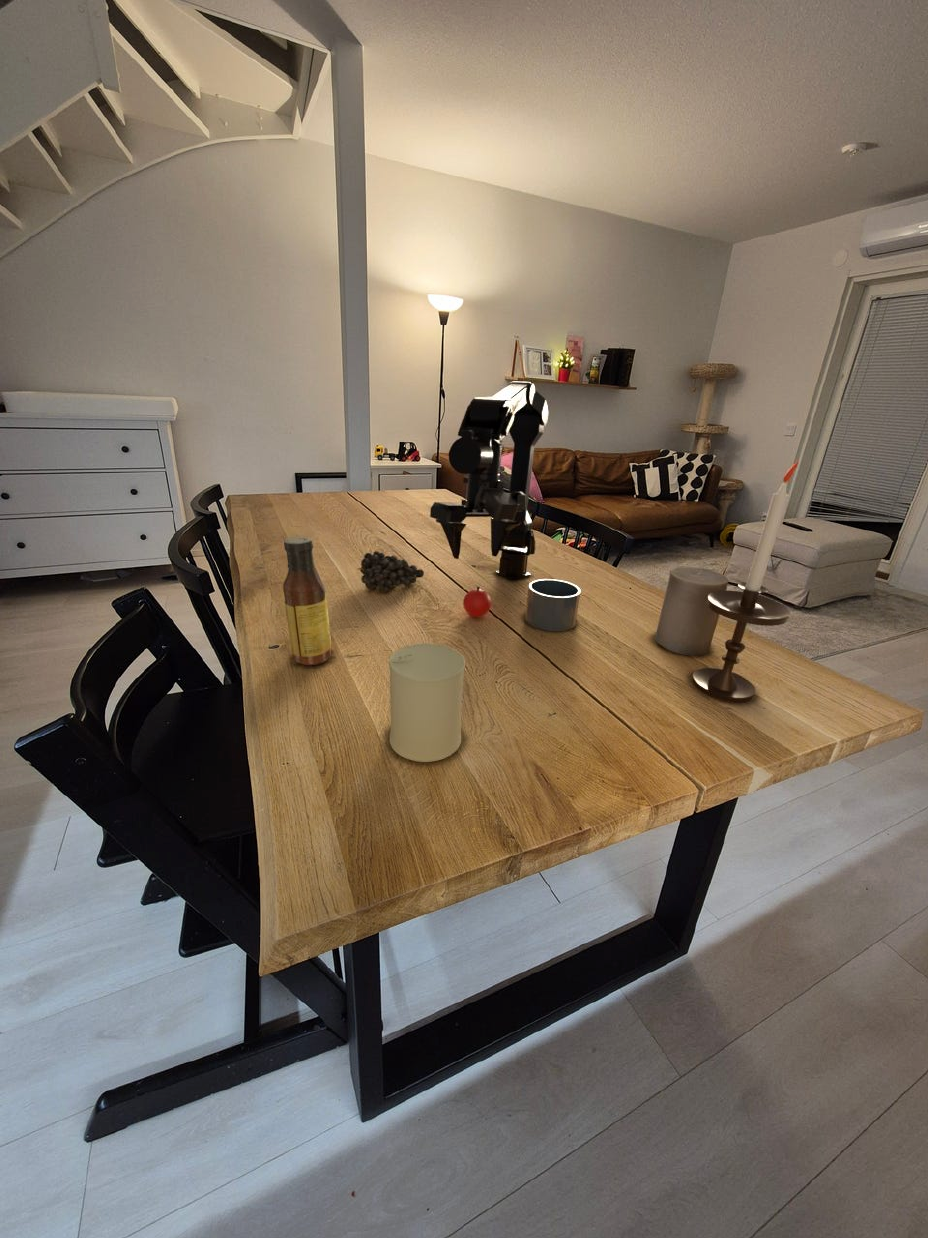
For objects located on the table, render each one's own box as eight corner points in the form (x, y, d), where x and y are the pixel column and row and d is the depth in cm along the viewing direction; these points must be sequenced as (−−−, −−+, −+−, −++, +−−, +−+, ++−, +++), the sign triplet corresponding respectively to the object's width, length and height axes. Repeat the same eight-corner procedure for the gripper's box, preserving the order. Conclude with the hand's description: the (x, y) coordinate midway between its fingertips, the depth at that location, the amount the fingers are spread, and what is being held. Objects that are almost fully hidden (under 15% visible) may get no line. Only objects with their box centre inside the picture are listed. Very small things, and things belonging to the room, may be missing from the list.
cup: (548, 607, 107) (552, 576, 104) (585, 623, 100) (591, 590, 97) (515, 617, 101) (518, 585, 98) (552, 635, 94) (557, 601, 91)
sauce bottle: (339, 653, 84) (332, 537, 76) (317, 670, 79) (307, 548, 70) (306, 645, 86) (295, 532, 78) (282, 662, 80) (268, 541, 72)
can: (391, 717, 68) (390, 639, 63) (458, 717, 69) (462, 639, 64) (387, 763, 60) (385, 676, 55) (464, 761, 61) (469, 676, 56)
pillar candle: (709, 639, 96) (730, 565, 90) (708, 661, 88) (732, 581, 82) (656, 628, 100) (673, 555, 93) (651, 648, 92) (669, 570, 85)
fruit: (421, 543, 114) (355, 545, 108) (433, 564, 109) (364, 569, 103) (416, 573, 120) (353, 577, 114) (427, 595, 114) (361, 601, 108)
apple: (477, 608, 105) (479, 579, 102) (496, 617, 101) (498, 587, 98) (456, 614, 101) (458, 584, 99) (474, 623, 97) (476, 593, 95)
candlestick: (774, 694, 79) (857, 463, 64) (734, 713, 73) (815, 466, 59) (711, 664, 87) (773, 453, 73) (671, 679, 82) (729, 454, 67)
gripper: (468, 475, 80) (460, 570, 85) (551, 479, 90) (539, 564, 96) (431, 469, 88) (425, 556, 93) (511, 473, 99) (502, 551, 104)
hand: (475, 557), depth 96 cm, fingers open, 9 cm apart
